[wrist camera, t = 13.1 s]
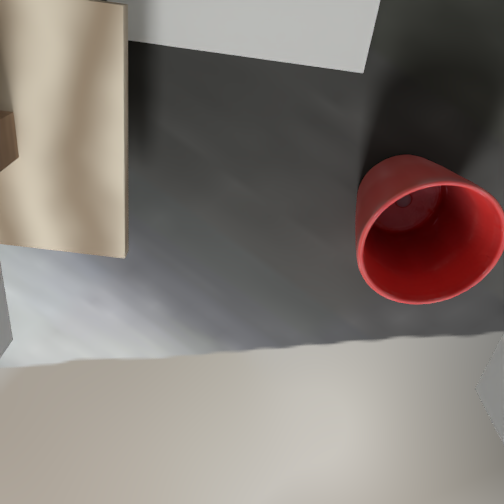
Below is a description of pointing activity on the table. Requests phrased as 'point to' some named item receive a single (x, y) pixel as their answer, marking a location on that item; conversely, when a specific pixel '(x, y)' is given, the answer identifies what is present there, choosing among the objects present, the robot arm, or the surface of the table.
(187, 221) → the table surface
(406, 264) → the flower pot
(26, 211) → the lid
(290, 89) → the table surface
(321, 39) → the tray
